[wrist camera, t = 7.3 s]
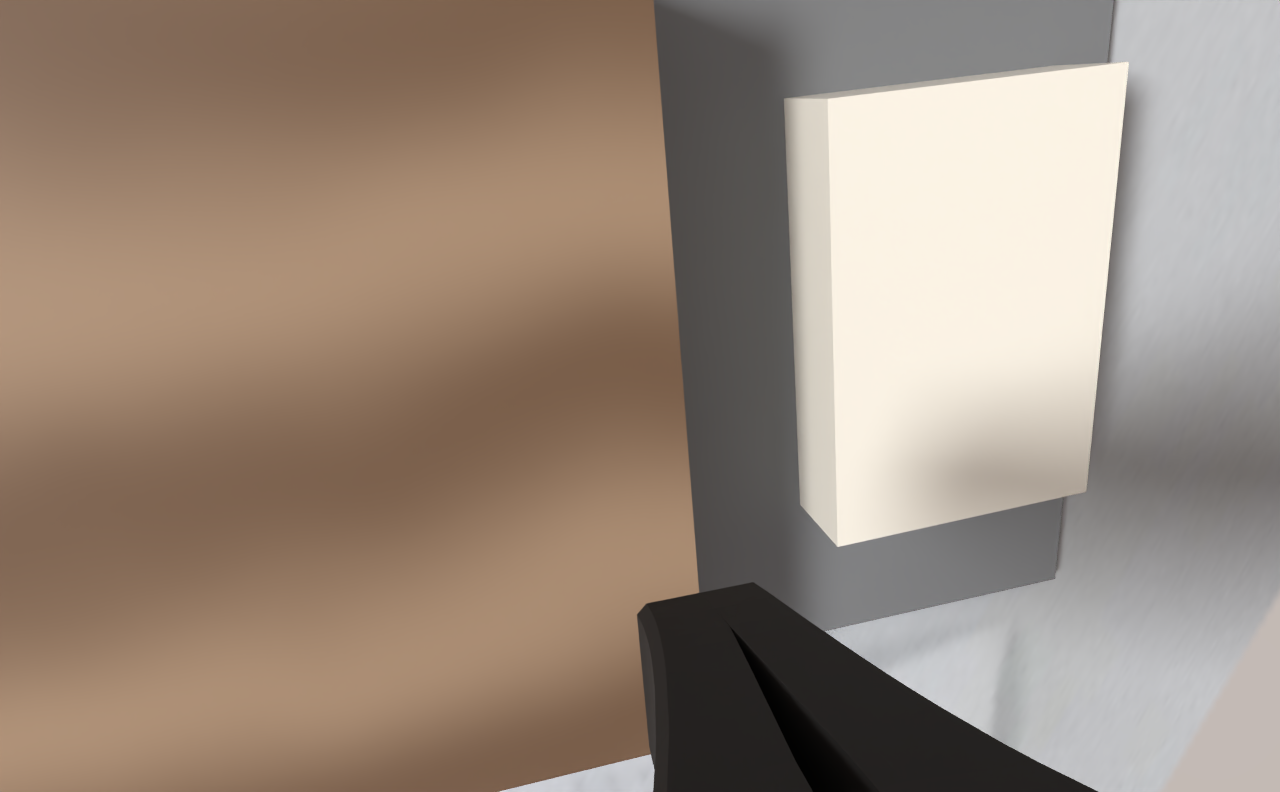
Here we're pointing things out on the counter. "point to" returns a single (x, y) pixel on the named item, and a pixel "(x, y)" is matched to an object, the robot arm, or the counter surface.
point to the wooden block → (333, 393)
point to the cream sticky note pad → (949, 292)
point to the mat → (762, 296)
